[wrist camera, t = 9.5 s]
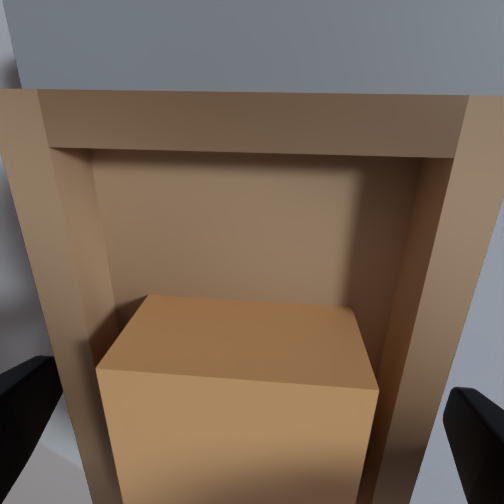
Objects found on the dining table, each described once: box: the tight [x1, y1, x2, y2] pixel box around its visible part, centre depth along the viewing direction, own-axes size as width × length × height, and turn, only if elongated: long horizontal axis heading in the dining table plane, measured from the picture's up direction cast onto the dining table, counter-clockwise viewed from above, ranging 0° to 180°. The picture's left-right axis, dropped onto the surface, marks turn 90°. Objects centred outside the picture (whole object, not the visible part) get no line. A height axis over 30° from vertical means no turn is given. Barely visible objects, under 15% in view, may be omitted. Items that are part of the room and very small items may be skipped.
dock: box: [2, 0, 504, 96], centre depth 12 cm, size 16×12×3 cm
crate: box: [95, 295, 379, 504], centre depth 6 cm, size 5×4×2 cm
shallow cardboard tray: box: [0, 89, 504, 504], centre depth 9 cm, size 12×7×4 cm, turn 179°
